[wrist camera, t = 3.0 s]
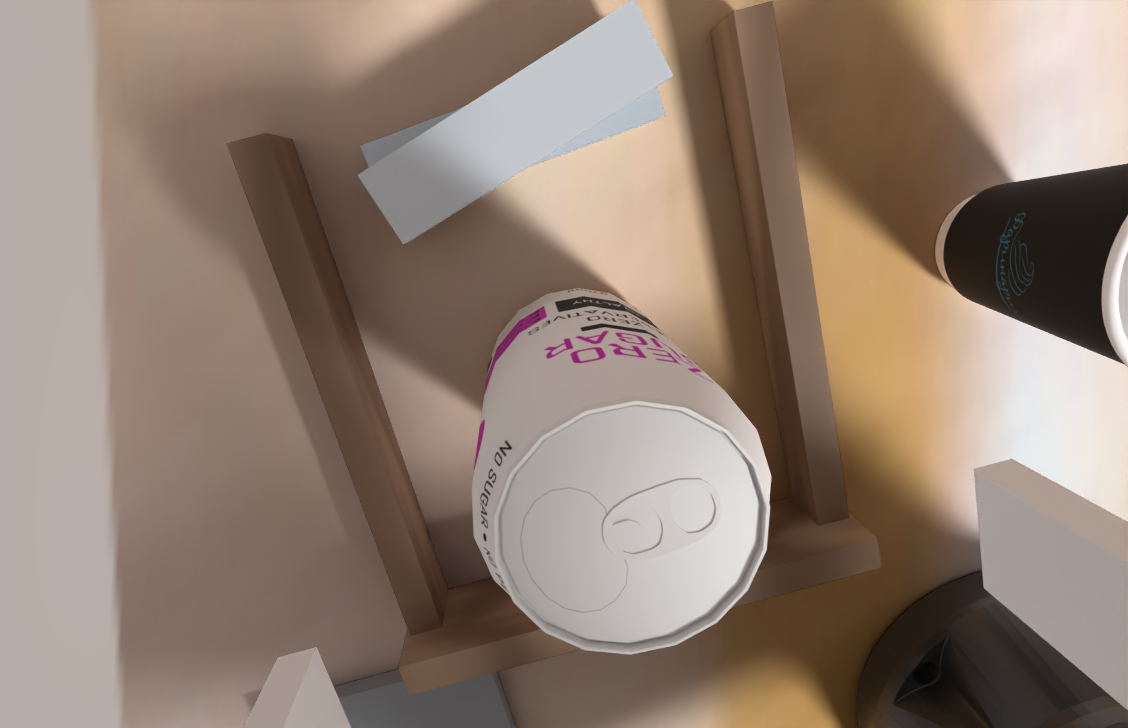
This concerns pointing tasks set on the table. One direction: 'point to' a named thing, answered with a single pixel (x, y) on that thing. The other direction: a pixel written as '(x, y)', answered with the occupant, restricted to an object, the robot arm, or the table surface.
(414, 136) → the offcut lower
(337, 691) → the pad
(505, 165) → the offcut upper
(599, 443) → the supplement can
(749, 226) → the rack
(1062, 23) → the table surface
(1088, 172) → the dixie cup
